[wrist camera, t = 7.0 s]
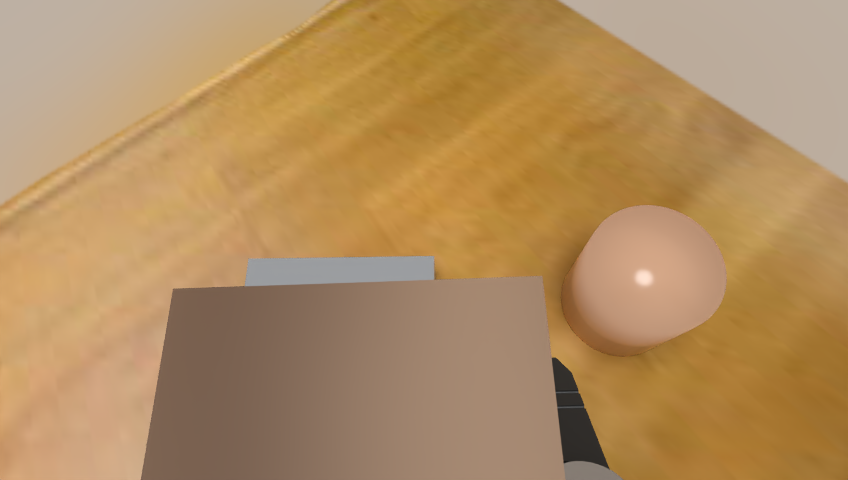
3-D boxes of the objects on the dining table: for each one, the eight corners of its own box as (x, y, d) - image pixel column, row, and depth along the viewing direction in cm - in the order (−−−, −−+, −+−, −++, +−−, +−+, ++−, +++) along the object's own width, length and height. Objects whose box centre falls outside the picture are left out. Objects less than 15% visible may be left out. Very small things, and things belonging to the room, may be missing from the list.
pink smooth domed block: (662, 249, 29) (710, 203, 24) (682, 355, 27) (740, 332, 22) (555, 251, 30) (579, 206, 24) (566, 356, 27) (595, 334, 22)
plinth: (435, 273, 30) (434, 256, 27) (436, 459, 26) (434, 461, 24) (267, 275, 30) (248, 258, 28) (244, 458, 27) (220, 460, 24)
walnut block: (486, 379, 15) (542, 275, 6) (498, 553, 14) (597, 770, 4) (337, 383, 16) (173, 288, 6) (330, 556, 14) (91, 771, 5)
